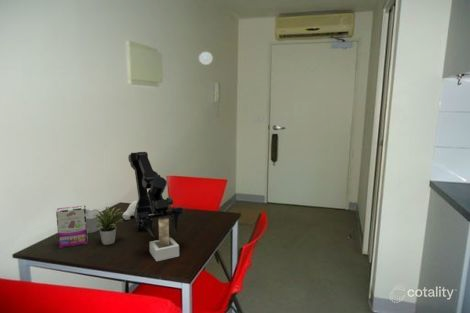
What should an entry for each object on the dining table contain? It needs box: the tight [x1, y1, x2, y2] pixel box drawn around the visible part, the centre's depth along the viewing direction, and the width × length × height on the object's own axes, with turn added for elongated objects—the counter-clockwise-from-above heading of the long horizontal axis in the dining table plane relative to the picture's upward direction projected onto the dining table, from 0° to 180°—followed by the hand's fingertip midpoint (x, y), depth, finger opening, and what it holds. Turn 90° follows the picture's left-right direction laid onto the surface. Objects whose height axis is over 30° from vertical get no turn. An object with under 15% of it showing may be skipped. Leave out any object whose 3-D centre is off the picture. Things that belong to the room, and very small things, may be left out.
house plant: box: [93, 206, 124, 246], centre depth 139 cm, size 14×14×16 cm
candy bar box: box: [55, 205, 88, 249], centre depth 137 cm, size 11×5×16 cm, turn 114°
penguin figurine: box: [122, 200, 138, 221], centre depth 173 cm, size 6×8×12 cm
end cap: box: [149, 237, 180, 262], centre depth 130 cm, size 9×9×4 cm
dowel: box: [158, 217, 170, 248], centre depth 130 cm, size 4×4×14 cm
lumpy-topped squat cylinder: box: [86, 208, 105, 234], centre depth 157 cm, size 10×13×9 cm
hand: (165, 234), depth 128 cm, fingers open, 9 cm apart
